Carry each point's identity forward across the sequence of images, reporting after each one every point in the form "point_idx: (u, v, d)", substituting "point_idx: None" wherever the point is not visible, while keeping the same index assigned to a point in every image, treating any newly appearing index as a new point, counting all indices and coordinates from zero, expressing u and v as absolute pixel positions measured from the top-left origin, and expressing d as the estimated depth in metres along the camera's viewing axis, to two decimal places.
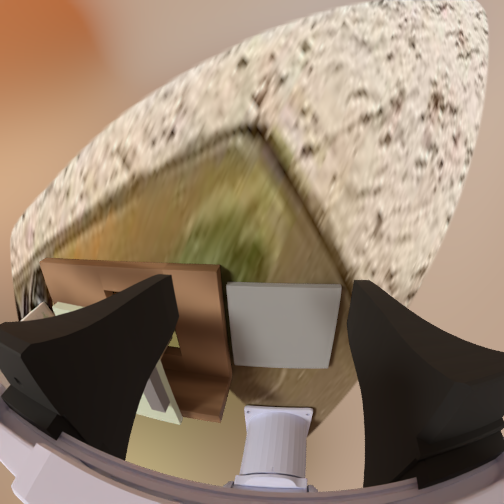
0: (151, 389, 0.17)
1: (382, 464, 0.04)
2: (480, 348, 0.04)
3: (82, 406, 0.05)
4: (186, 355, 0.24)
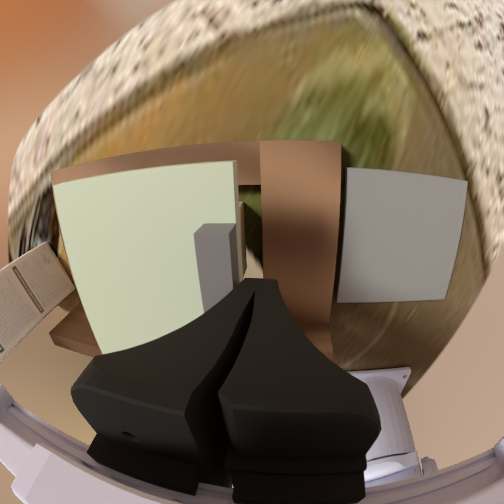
0: None
1: None
2: (335, 364, 0.04)
3: (219, 445, 0.04)
4: None
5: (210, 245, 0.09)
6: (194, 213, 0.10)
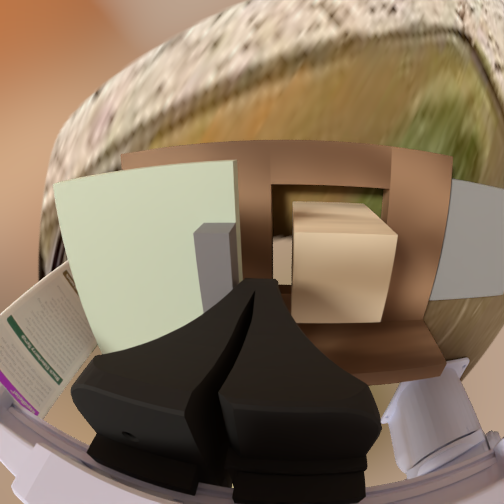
0: None
1: None
2: None
3: (219, 445, 0.04)
4: None
5: (210, 244, 0.09)
6: (194, 212, 0.10)
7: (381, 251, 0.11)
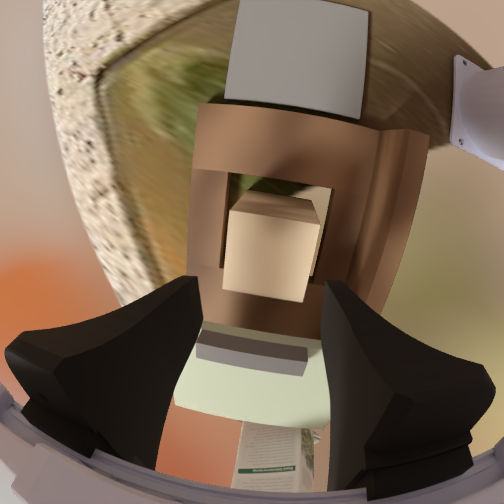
0: (250, 357, 0.14)
1: (340, 469, 0.05)
2: (445, 354, 0.04)
3: (116, 419, 0.05)
4: (332, 181, 0.17)
5: (203, 352, 0.14)
6: (195, 346, 0.15)
7: (243, 225, 0.14)
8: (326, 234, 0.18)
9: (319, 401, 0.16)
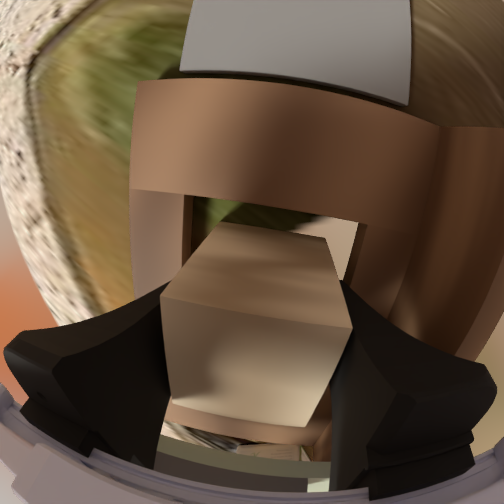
0: None
1: (341, 469, 0.05)
2: (446, 354, 0.04)
3: (115, 419, 0.05)
4: (365, 210, 0.09)
5: None
6: None
7: (190, 325, 0.06)
8: None
9: None
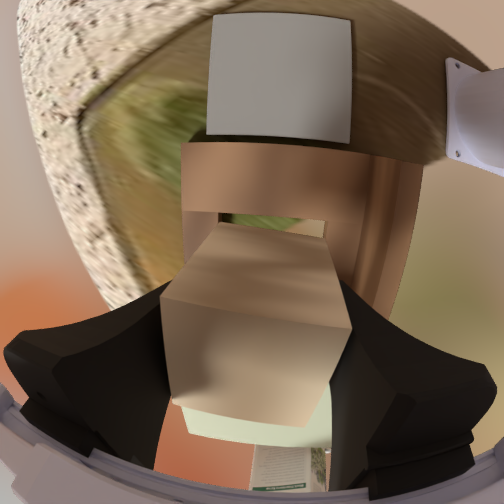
0: None
1: (341, 469, 0.05)
2: (446, 354, 0.04)
3: (115, 419, 0.05)
4: (325, 213, 0.17)
5: None
6: None
7: (190, 325, 0.06)
8: None
9: (324, 425, 0.16)
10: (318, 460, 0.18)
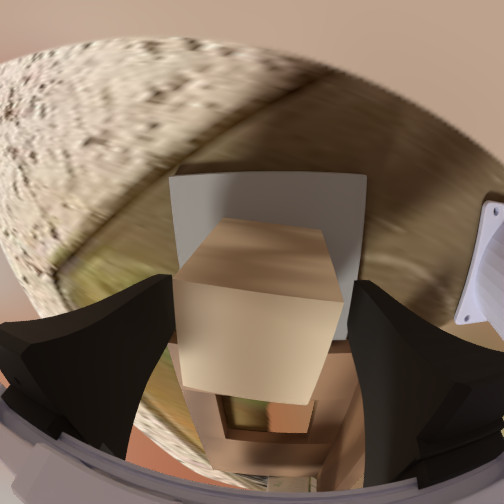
0: None
1: (382, 464, 0.04)
2: (480, 348, 0.04)
3: (82, 406, 0.05)
4: (316, 395, 0.16)
5: None
6: None
7: (199, 305, 0.07)
8: (313, 422, 0.17)
9: None
10: None
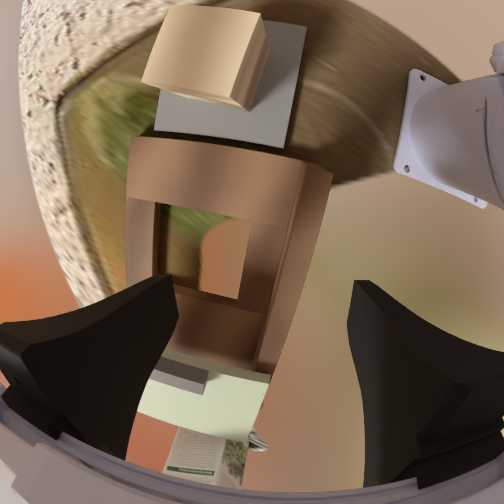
0: (156, 372, 0.15)
1: (382, 464, 0.04)
2: (480, 347, 0.04)
3: (82, 406, 0.05)
4: (250, 213, 0.18)
5: None
6: None
7: (180, 15, 0.09)
8: (245, 263, 0.19)
9: (232, 417, 0.17)
10: (234, 453, 0.20)
